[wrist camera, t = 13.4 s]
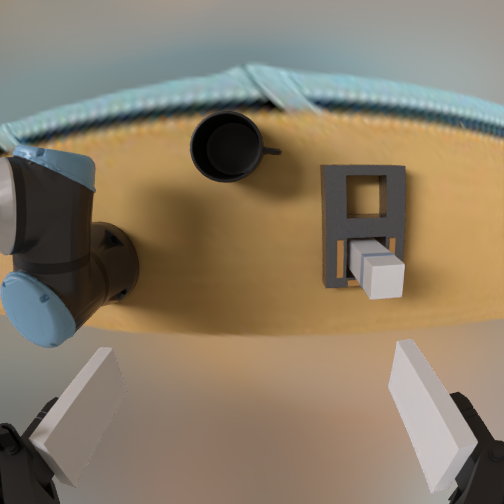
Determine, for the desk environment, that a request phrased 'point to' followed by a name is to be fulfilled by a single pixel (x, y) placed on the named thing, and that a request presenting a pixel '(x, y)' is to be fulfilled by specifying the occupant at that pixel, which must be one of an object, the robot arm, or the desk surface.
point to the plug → (375, 268)
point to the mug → (227, 147)
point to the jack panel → (359, 217)
